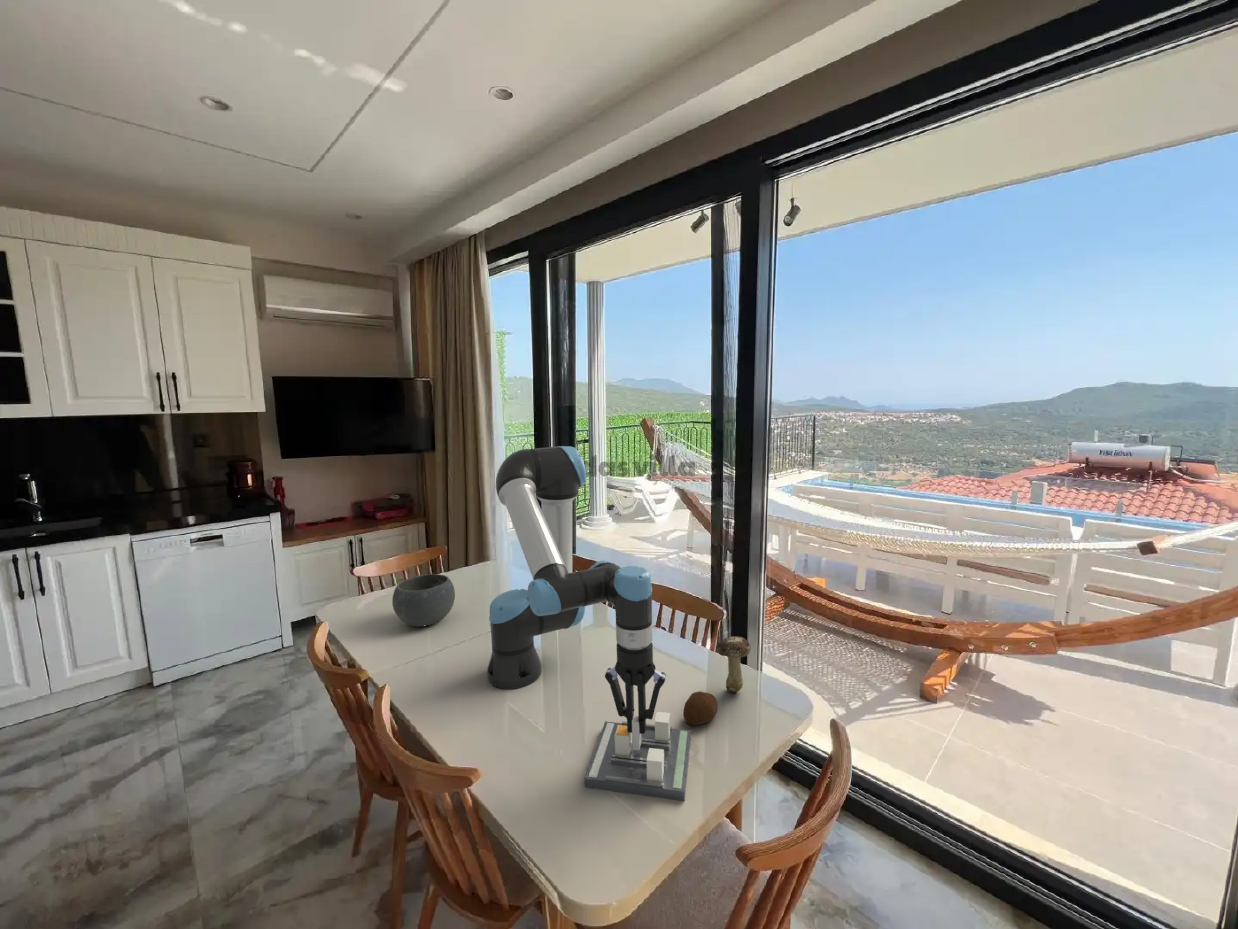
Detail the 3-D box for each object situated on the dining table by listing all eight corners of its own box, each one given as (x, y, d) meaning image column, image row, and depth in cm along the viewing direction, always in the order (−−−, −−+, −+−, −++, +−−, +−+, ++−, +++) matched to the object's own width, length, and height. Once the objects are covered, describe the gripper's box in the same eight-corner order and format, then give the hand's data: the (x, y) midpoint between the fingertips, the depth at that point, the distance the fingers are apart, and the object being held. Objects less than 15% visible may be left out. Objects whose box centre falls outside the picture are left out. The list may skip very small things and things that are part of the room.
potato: (726, 716, 123) (726, 689, 122) (701, 737, 116) (700, 709, 115) (702, 704, 128) (702, 678, 127) (676, 723, 121) (676, 696, 120)
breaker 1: (655, 740, 112) (654, 721, 111) (657, 729, 115) (656, 711, 114) (668, 741, 111) (668, 723, 110) (670, 731, 114) (670, 713, 114)
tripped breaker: (615, 755, 107) (614, 734, 107) (618, 743, 111) (617, 723, 110) (629, 756, 107) (628, 736, 106) (632, 745, 110) (631, 725, 110)
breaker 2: (647, 780, 100) (646, 760, 99) (649, 768, 103) (649, 748, 103) (662, 782, 99) (661, 762, 99) (664, 769, 103) (663, 749, 102)
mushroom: (730, 706, 126) (730, 650, 124) (709, 689, 134) (709, 635, 132) (759, 695, 131) (760, 640, 129) (737, 679, 138) (737, 627, 136)
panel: (584, 787, 102) (584, 775, 101) (605, 729, 119) (605, 719, 119) (684, 801, 98) (684, 788, 97) (690, 738, 115) (690, 728, 115)
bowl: (469, 617, 182) (466, 577, 180) (419, 641, 165) (416, 597, 163) (432, 605, 193) (429, 568, 191) (383, 627, 176) (379, 586, 174)
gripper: (599, 648, 103) (603, 754, 106) (663, 653, 100) (665, 761, 103) (607, 631, 110) (611, 730, 113) (667, 635, 107) (669, 737, 111)
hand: (637, 745), depth 108 cm, fingers closed
